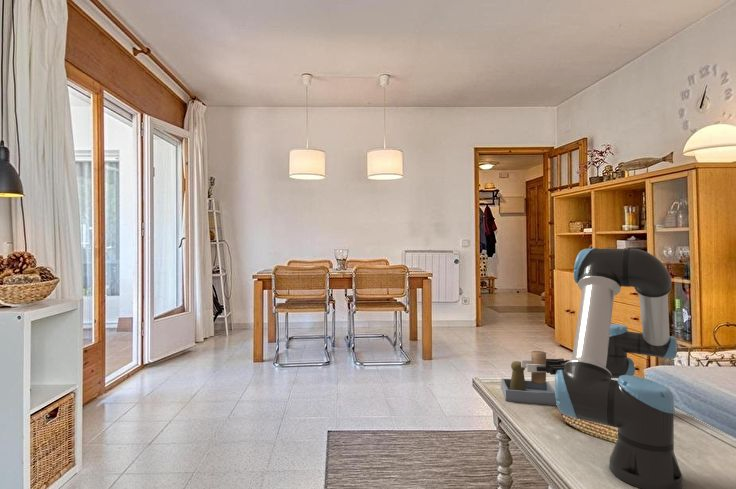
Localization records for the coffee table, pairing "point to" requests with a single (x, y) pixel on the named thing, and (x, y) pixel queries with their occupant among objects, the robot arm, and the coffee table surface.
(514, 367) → the cork
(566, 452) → the coffee table surface
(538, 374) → the walnut cylinder
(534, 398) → the tote
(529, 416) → the coffee table surface
